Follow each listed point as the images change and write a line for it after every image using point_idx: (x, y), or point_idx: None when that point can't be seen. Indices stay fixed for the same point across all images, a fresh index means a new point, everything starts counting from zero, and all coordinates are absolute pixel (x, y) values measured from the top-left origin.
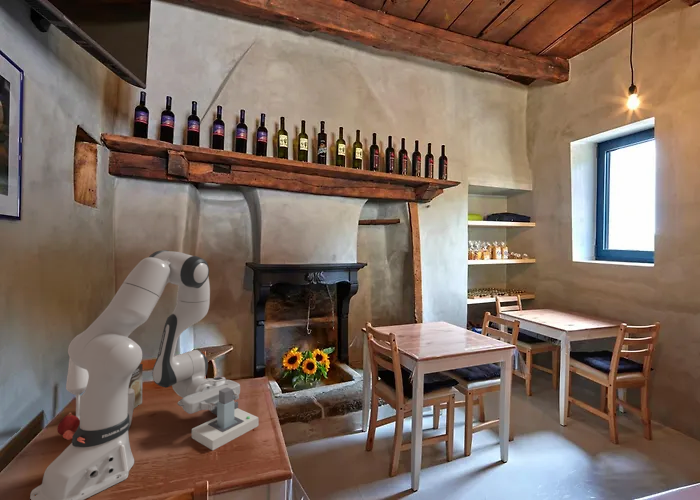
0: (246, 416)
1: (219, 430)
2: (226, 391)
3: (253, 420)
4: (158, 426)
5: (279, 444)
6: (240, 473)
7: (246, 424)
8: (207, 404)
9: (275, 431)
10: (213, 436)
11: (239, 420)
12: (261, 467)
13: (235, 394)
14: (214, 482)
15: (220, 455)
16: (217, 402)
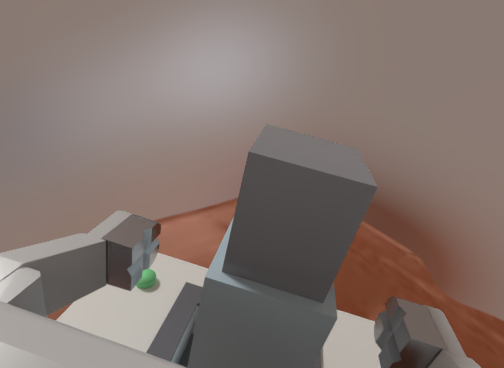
0: (122, 298)
1: (319, 356)
2: (330, 144)
3: (160, 255)
4: None
5: (228, 200)
6: (361, 233)
7: (201, 270)
8: (472, 363)
9: (165, 219)
10: (373, 349)
11: (187, 305)
12: None
13: (135, 223)
14: (423, 263)
15: (363, 308)
16: (335, 317)
